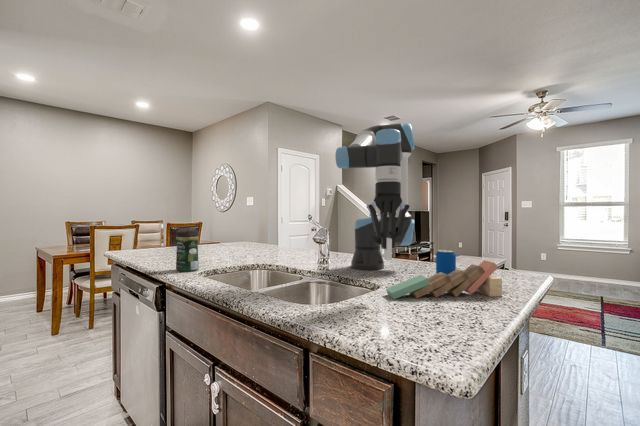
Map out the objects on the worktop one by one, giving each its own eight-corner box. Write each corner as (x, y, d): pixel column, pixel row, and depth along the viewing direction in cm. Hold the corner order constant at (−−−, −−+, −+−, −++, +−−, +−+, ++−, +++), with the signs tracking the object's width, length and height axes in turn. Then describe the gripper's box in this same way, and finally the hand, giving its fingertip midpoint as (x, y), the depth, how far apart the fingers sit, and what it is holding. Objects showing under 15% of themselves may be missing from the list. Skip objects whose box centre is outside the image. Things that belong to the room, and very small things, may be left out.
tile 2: (407, 288, 98) (440, 271, 99) (410, 294, 98) (442, 277, 99) (414, 292, 93) (448, 275, 94) (416, 298, 93) (451, 281, 95)
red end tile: (458, 285, 100) (483, 260, 101) (462, 290, 100) (487, 264, 101) (467, 289, 95) (494, 262, 96) (471, 294, 95) (498, 267, 97)
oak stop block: (475, 290, 102) (475, 274, 102) (486, 290, 103) (486, 273, 103) (489, 296, 95) (489, 278, 95) (501, 296, 96) (501, 278, 96)
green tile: (385, 288, 97) (420, 274, 99) (387, 294, 97) (422, 280, 99) (391, 293, 92) (427, 278, 94) (394, 299, 92) (429, 284, 94)
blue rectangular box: (452, 282, 114) (452, 249, 114) (458, 286, 107) (458, 252, 107) (434, 282, 114) (434, 249, 114) (439, 286, 108) (439, 251, 108)
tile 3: (425, 287, 99) (457, 269, 100) (428, 293, 99) (459, 274, 100) (433, 291, 94) (466, 272, 95) (436, 297, 94) (469, 277, 95)
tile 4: (444, 287, 100) (471, 264, 101) (447, 292, 100) (475, 268, 101) (452, 291, 95) (481, 266, 96) (456, 296, 95) (485, 271, 96)
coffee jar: (172, 270, 137) (172, 228, 137) (189, 267, 144) (189, 227, 144) (184, 273, 132) (184, 229, 132) (201, 270, 138) (201, 228, 138)
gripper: (370, 180, 90) (370, 262, 90) (413, 180, 92) (413, 261, 92) (363, 182, 97) (363, 258, 97) (403, 183, 99) (403, 257, 99)
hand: (387, 259), depth 95 cm, fingers closed
